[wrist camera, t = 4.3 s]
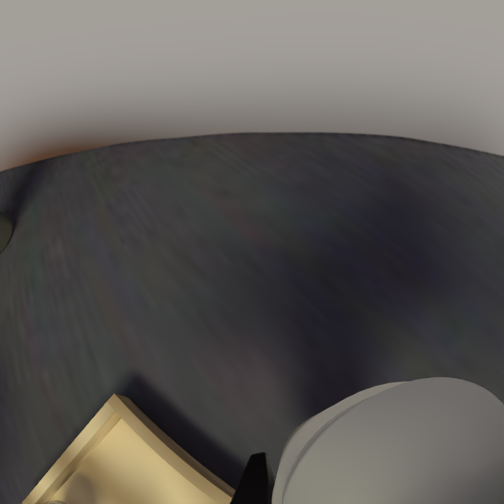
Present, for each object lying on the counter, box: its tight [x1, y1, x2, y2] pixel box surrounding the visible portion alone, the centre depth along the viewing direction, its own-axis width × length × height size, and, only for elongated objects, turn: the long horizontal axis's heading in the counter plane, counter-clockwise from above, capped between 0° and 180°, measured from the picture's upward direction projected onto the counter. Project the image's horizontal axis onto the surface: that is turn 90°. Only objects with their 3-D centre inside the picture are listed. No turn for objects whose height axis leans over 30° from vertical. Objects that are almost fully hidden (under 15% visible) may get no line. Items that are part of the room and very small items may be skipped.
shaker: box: [272, 377, 504, 504], centre depth 8 cm, size 5×5×11 cm
